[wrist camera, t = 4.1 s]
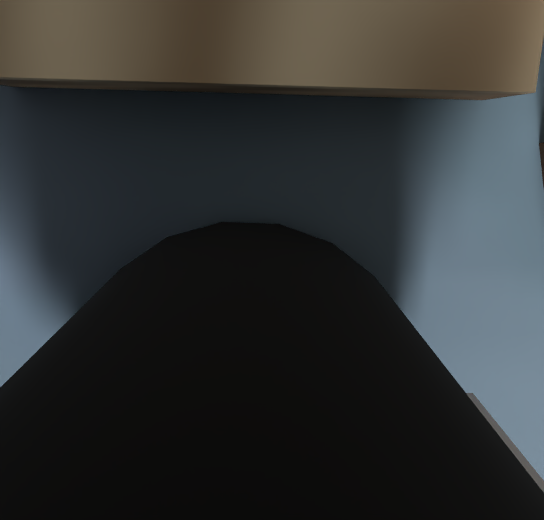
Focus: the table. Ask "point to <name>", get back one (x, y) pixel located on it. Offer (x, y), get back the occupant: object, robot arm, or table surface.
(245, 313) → the coffee jar
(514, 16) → the pallet dock
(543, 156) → the cargo block
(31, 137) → the table surface
